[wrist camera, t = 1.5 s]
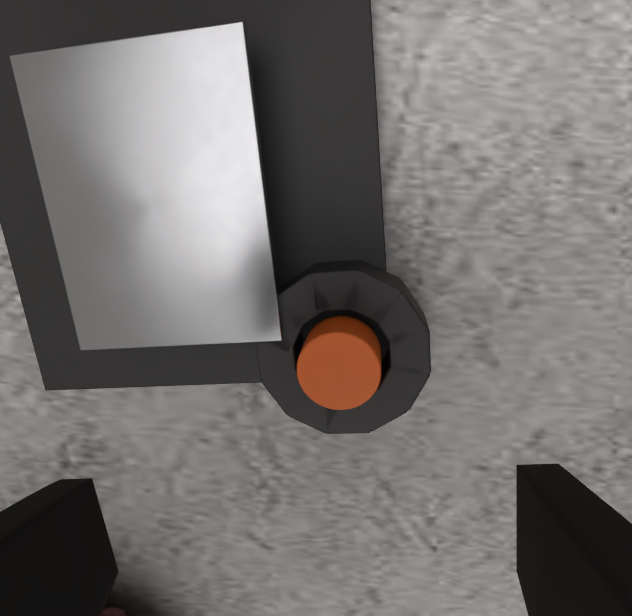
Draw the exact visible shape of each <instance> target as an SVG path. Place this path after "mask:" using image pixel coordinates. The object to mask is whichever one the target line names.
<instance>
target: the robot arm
mask: <svg viewBox="0 0 632 616" xmlns="http://www.w3.org/2000/svg"><path fill="white" fill-rule="evenodd" d="M117 574H118V568H117V565H116V561H115V558H114V554H113V551H112V547H111V544H110V540H109V537H108V533H107V530H106V526H105V523H104V519H103V516H102V512H101V509H100V505H99V502H98V498H97V495H96V491H95V488H94V484H93V481H92V478H90V479H61V480H58V481H56V482H54V483H52V484H50V485H48V486H46V487H44V488H42V489H40V490H38V491H37V492H35V493H33V494H31V495H29V496H27V497H26V498H24V499H22V500H20V501H19V502H17V503H15V504H13V505H12V506H10V507H8V508H7V509H5V510H3V511H1V512H0V616H100V615H101V613H102V611H103V608H104V606H105V604H106V601H107V599H108V596H109V594H110V591H111V589H112V586H113V584H114V581H115V579H116V576H117ZM517 574H518V577H519V581H520V585H521V589H522V593H523V596H524V600H525V604H526V608H527V611H528V615H529V616H632V524H631V523H630V522H629V521H628V520H626V519H625V518H624V517H623V516H622V515H620V514H619V513H618V512H617V511H615V510H614V509H613V508H612V507H610V506H609V505H608V504H607V503H606V502H604V501H603V500H602V499H601V498H599V497H598V496H597V495H596V494H595V493H593V492H592V491H591V490H590V489H589V488H587V487H586V486H585V485H584V484H583V483H581V482H580V481H579V480H578V479H576V478H575V477H574V476H573V475H572V474H570V473H569V472H568V471H567V470H565V469H564V468H563V467H562V466H560V465H559V464H532V465H517Z"/></svg>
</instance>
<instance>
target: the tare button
mask: <svg viewBox="0 0 632 616" xmlns="http://www.w3.org/2000/svg"><path fill="white" fill-rule="evenodd" d="M296 369H297V377H298V381H299V384H300V386H301V388H302V389H303V391H304V392H305V393H306V395H307V396H308V397H309V398H310V399H311V400H313V401H314V402H315V403H317V404H319V405H321V406H323V407H326V408H329V409H334V410H347V409H352V408H355V407H358V406H360V405H362V404H363V403H365V402H366V401H368V400H369V399H370V398H371V397H372V396H373V395H374V393H375V392H376V390H377V388H378V386H379V383H380V380H381V346H380V343H379V340H378V338H377V336H376V334H375V333H374V332H373V330H372V329H371V328H370V327H369V326H368V325H366V324H365V323H364V322H362V321H360V320H358V319H355V318H352V317H347V316H335V317H330V318H327V319H325V320H323V321H321V322H319V323H318V324H317V325H315V326H314V327H313V328H312V330H311V331H310V332H309V334H308V336H307V338H306V340H305V343H304V345H303V347H302V350H301V352H300V355H299V357H298V361H297V368H296Z"/></svg>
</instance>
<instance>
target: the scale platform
mask: <svg viewBox="0 0 632 616" xmlns="http://www.w3.org/2000/svg"><path fill="white" fill-rule="evenodd" d="M10 61H11V65H12V69H13V73H14V77H15V81H16V86H17V90H18V94H19V98H20V102H21V106H22V110H23V114H24V119H25V123H26V127H27V131H28V135H29V139H30V143H31V147H32V152H33V156H34V160H35V164H36V168H37V172H38V176H39V181H40V185H41V189H42V193H43V197H44V201H45V205H46V209H47V214H48V218H49V222H50V226H51V230H52V234H53V238H54V243H55V247H56V251H57V255H58V259H59V263H60V267H61V271H62V276H63V280H64V284H65V288H66V292H67V296H68V300H69V304H70V309H71V313H72V317H73V321H74V325H75V329H76V333H77V338H78V342H79V346H80V350H103V349H123V348H143V347H163V346H184V345H204V344H224V343H244V342H265V341H282V340H283V338H284V335H283V326H282V318H281V310H280V302H279V294H278V285H277V277H276V269H275V261H274V252H273V244H272V236H271V228H270V219H269V211H268V203H267V195H266V186H265V178H264V170H263V162H262V153H261V145H260V137H259V129H258V120H257V112H256V104H255V96H254V88H253V79H252V71H251V63H250V55H249V46H248V38H247V30H246V24H245V23H244V22H243V21H239V22H232V23H226V24H219V25H212V26H205V27H199V28H192V29H185V30H179V31H172V32H165V33H159V34H152V35H145V36H138V37H132V38H125V39H118V40H112V41H105V42H98V43H92V44H85V45H78V46H71V47H65V48H58V49H51V50H45V51H38V52H31V53H25V54H18V55H11V56H10Z"/></svg>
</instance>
